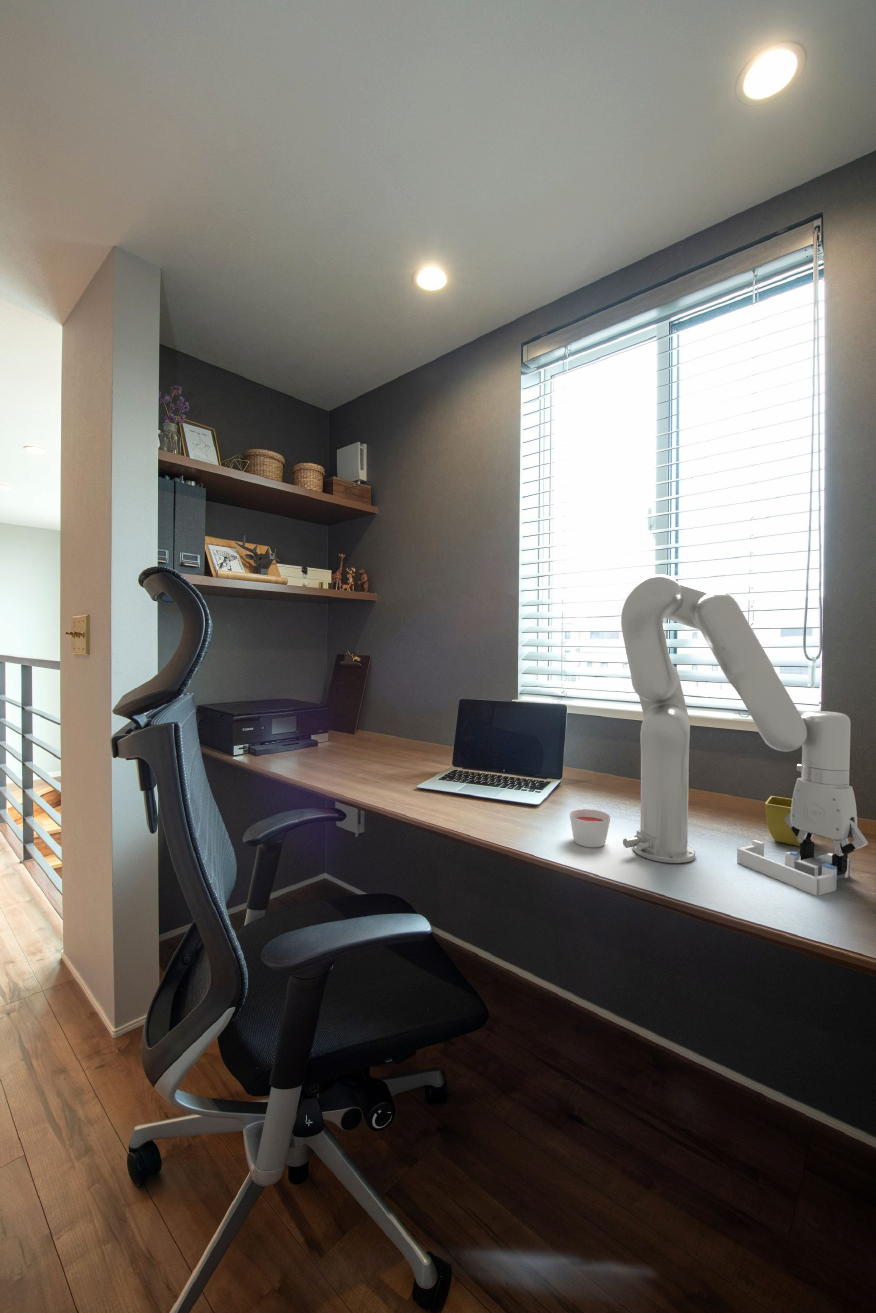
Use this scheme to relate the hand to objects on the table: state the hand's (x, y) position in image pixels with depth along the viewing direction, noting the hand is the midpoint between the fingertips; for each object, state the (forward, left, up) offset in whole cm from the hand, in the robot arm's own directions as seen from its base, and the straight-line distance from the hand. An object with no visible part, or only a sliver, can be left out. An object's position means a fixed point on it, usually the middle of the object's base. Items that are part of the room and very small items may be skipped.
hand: (822, 867), depth 106 cm
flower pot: (+13, +15, -2) cm, 20 cm away
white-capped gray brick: (0, 0, -2) cm, 2 cm away
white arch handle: (-6, +4, -2) cm, 7 cm away
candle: (-30, +32, -2) cm, 44 cm away
